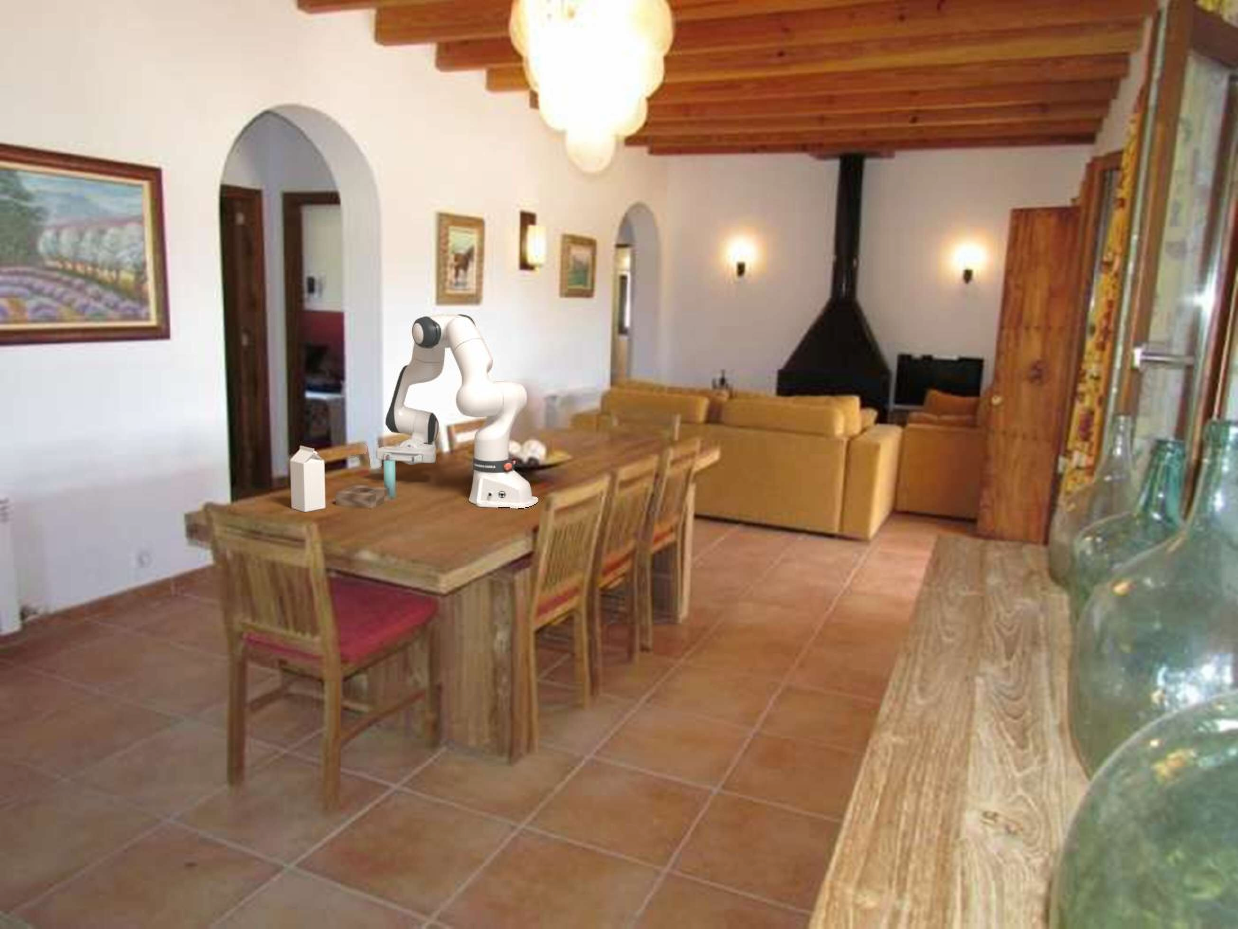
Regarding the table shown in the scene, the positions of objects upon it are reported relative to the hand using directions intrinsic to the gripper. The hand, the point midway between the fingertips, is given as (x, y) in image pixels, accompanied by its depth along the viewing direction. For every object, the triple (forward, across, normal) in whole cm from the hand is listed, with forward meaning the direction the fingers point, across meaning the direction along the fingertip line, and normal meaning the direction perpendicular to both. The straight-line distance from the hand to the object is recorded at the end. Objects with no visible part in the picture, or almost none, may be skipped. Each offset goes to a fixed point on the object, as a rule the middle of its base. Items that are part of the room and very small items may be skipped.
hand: (399, 459), depth 295 cm
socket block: (+22, -5, +10) cm, 24 cm away
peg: (+12, 0, +10) cm, 16 cm away
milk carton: (+32, -18, +10) cm, 39 cm away
